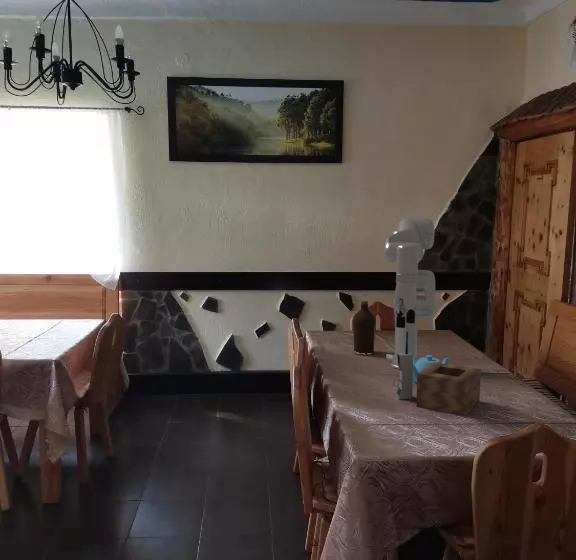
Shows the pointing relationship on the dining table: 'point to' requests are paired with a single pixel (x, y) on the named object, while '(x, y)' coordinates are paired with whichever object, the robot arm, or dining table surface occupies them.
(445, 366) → the well block
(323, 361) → the dining table surface
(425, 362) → the teapot
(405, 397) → the vintage mobile phone
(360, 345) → the olive oil
